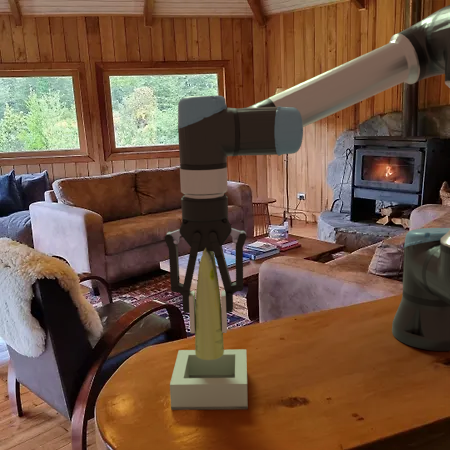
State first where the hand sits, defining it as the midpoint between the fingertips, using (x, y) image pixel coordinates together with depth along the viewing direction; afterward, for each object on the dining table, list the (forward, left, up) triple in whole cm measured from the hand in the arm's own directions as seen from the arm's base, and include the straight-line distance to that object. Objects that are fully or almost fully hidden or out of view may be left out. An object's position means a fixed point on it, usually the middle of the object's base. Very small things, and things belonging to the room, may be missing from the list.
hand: (208, 329), depth 89 cm
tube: (0, 0, -5) cm, 5 cm away
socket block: (0, 0, -11) cm, 11 cm away
